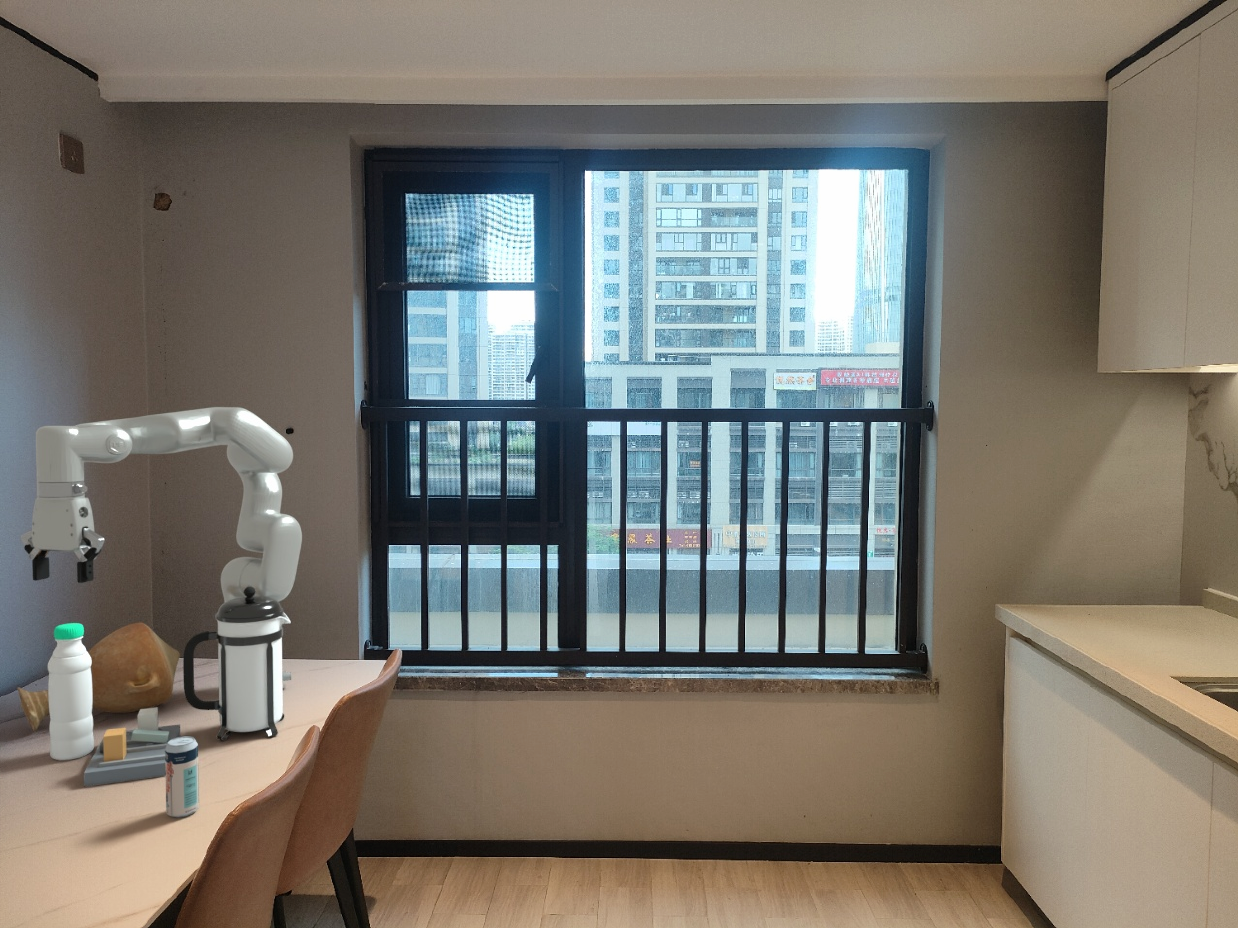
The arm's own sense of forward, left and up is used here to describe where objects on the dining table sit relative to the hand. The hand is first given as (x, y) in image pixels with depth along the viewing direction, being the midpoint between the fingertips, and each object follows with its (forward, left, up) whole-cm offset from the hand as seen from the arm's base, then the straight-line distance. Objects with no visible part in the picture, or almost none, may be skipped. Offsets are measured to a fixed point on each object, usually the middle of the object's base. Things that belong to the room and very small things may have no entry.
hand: (63, 580), depth 161 cm
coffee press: (-31, 0, -34) cm, 46 cm away
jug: (-3, -20, -34) cm, 39 cm away
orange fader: (-10, +14, -31) cm, 35 cm away
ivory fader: (-14, +4, -31) cm, 34 cm away
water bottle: (-1, +2, -34) cm, 34 cm away
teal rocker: (-15, +9, -29) cm, 34 cm away
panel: (-13, +9, -33) cm, 37 cm away
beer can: (-23, +35, -34) cm, 54 cm away
